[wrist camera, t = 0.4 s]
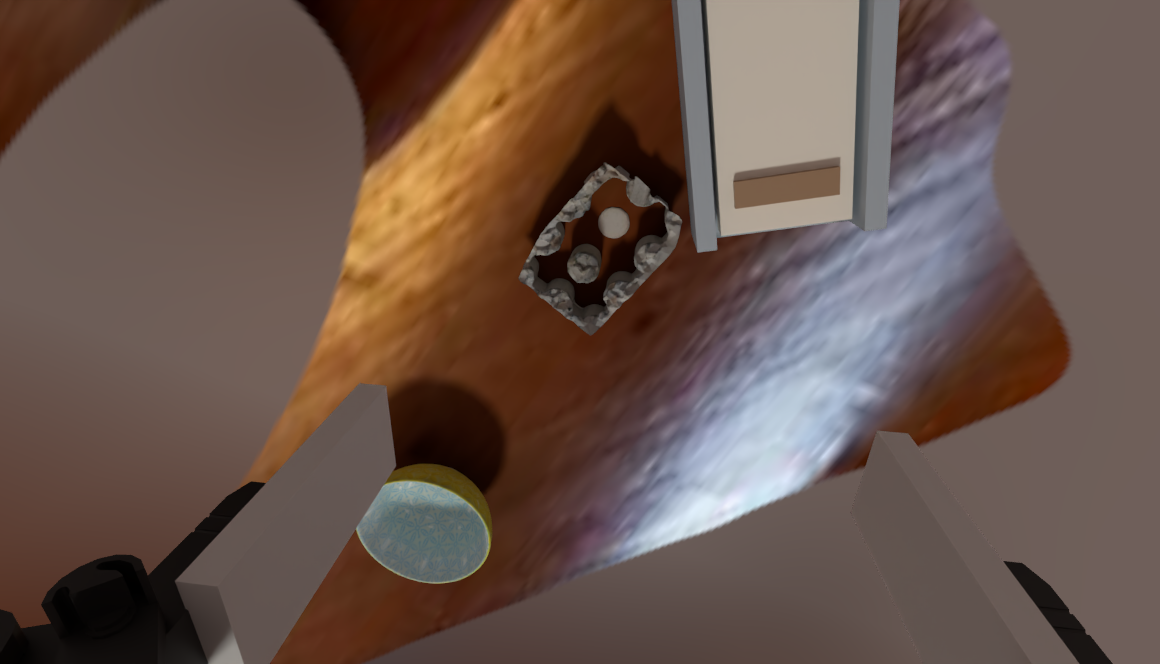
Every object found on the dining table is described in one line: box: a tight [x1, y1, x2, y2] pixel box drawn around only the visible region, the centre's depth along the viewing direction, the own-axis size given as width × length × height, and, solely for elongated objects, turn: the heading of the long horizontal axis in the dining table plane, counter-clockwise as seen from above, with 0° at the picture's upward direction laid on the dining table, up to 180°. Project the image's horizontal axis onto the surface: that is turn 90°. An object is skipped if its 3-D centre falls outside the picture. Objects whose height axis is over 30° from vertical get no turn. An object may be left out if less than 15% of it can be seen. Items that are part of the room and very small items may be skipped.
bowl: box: [356, 464, 492, 583], centre depth 48 cm, size 11×12×6 cm
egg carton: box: [519, 163, 682, 335], centre depth 38 cm, size 11×8×4 cm
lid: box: [703, 0, 859, 236], centre depth 31 cm, size 16×8×2 cm, turn 9°
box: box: [672, 0, 899, 252], centre depth 32 cm, size 18×11×5 cm, turn 9°
